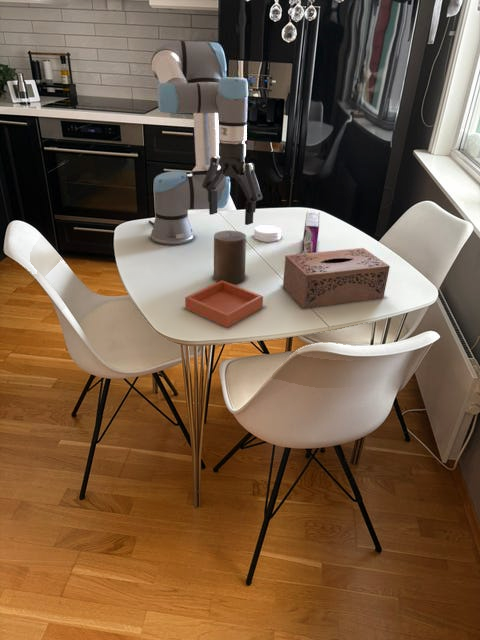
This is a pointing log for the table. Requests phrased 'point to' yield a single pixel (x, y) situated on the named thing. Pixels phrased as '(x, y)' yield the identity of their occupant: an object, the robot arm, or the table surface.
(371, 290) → the tissue box cover
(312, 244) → the candy bar box
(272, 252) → the table surface
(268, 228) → the coaster
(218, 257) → the pillar candle
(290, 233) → the table surface
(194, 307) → the holder
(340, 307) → the table surface
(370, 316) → the table surface
